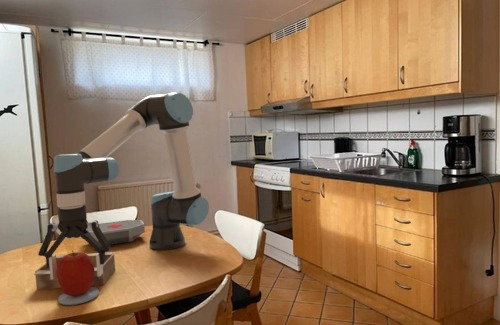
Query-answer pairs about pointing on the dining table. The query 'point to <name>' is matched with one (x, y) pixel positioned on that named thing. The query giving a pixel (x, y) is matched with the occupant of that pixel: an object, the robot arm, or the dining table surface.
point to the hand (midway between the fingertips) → (77, 276)
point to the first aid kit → (120, 231)
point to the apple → (75, 273)
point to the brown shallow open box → (108, 268)
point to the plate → (78, 297)
